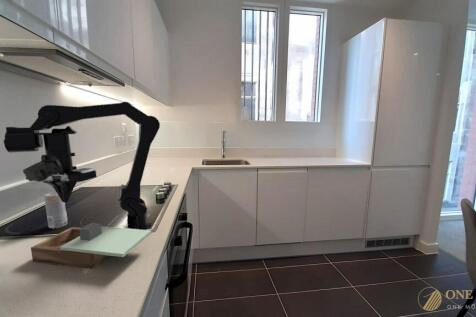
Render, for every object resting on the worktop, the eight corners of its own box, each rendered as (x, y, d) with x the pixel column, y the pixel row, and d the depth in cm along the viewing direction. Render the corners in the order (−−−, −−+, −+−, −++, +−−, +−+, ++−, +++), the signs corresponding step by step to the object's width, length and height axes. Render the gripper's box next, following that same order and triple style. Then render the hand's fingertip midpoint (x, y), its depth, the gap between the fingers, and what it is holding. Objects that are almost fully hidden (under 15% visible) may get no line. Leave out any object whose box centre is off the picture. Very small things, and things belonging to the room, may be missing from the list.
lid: (98, 228, 68) (96, 216, 67) (151, 233, 65) (150, 220, 64) (60, 249, 56) (58, 236, 56) (123, 257, 53) (121, 242, 53)
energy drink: (65, 221, 83) (61, 190, 82) (69, 225, 80) (65, 193, 78) (47, 226, 79) (42, 194, 78) (50, 230, 76) (45, 197, 74)
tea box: (73, 238, 70) (72, 226, 70) (124, 243, 67) (122, 231, 67) (32, 261, 59) (30, 247, 58) (91, 269, 55) (89, 254, 55)
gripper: (-2, 153, 58) (8, 210, 60) (58, 154, 54) (66, 214, 57) (42, 148, 68) (49, 197, 71) (95, 149, 65) (100, 200, 68)
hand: (65, 202), depth 66 cm, fingers closed
